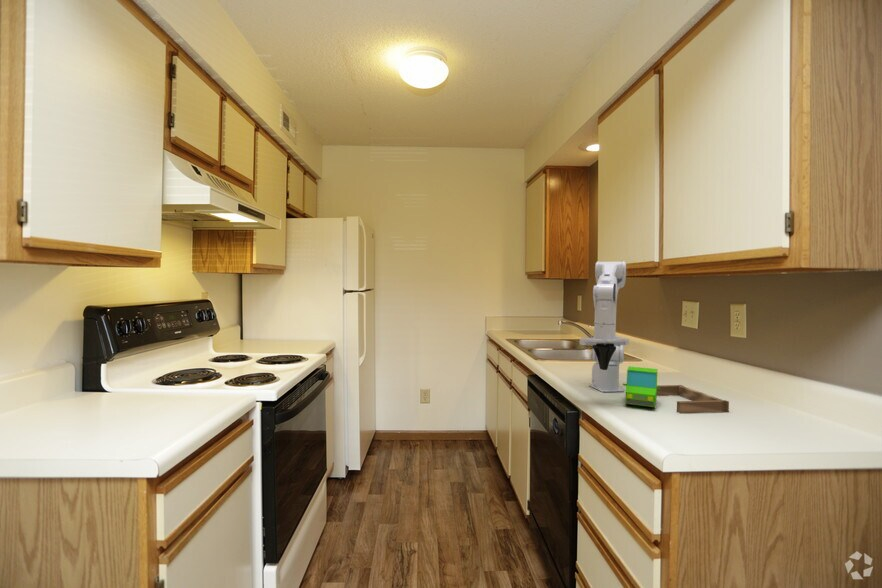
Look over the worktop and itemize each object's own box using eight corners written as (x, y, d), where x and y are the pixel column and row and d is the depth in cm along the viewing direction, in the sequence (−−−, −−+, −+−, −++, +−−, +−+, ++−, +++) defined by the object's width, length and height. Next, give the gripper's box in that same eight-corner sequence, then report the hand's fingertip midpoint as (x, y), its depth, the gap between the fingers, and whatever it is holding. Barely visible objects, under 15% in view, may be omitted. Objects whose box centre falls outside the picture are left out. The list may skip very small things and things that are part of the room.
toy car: (620, 407, 127) (621, 373, 127) (624, 397, 139) (625, 366, 139) (659, 412, 122) (660, 377, 122) (660, 401, 134) (661, 369, 134)
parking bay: (638, 395, 141) (638, 385, 141) (680, 394, 143) (681, 385, 143) (680, 413, 121) (680, 402, 121) (728, 411, 123) (729, 401, 123)
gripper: (587, 324, 124) (586, 372, 124) (635, 325, 126) (633, 371, 126) (576, 322, 131) (575, 367, 131) (621, 323, 133) (620, 367, 133)
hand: (603, 369), depth 129 cm, fingers closed
